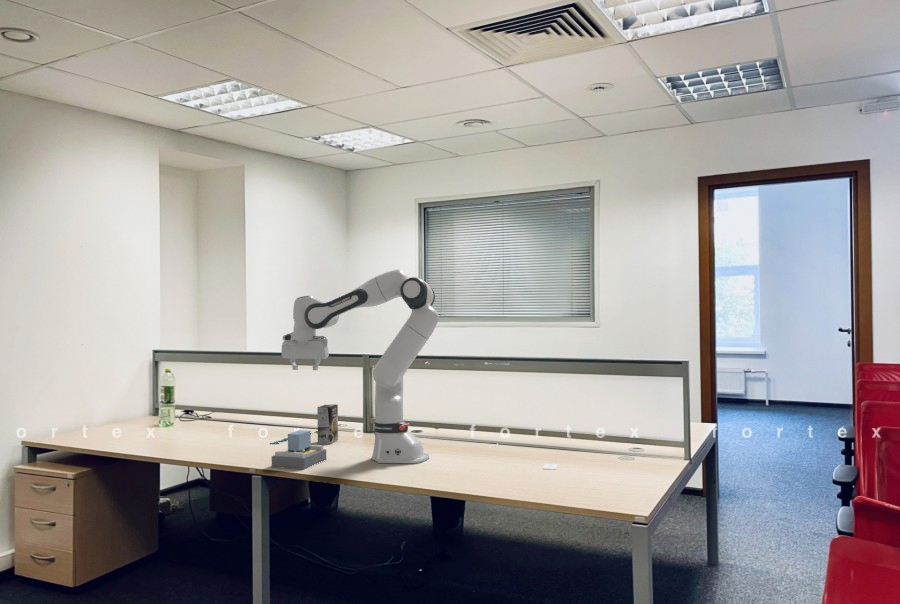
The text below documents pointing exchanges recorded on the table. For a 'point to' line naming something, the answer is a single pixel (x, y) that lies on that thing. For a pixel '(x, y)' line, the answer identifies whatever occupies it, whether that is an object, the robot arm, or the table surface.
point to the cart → (299, 441)
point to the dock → (299, 458)
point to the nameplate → (280, 441)
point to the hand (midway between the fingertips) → (305, 370)
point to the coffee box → (327, 424)
